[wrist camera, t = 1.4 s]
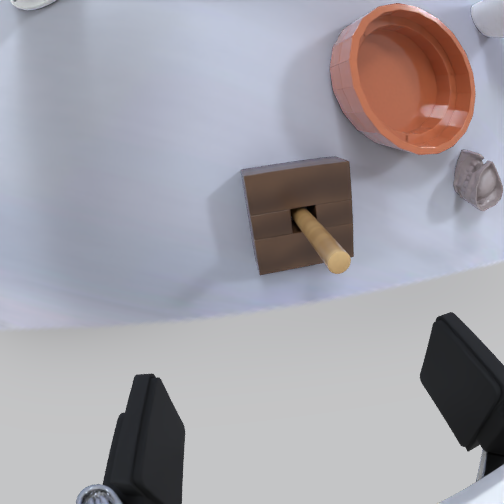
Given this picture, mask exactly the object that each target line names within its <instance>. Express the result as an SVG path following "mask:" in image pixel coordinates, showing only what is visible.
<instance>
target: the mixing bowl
mask: <svg viewBox="0 0 504 504" xmlns="http://www.w3.org/2000/svg"><path fill="white" fill-rule="evenodd" d="M330 74H331V80H332V87H333V92H334V94H335V96H336V98H337V100H338V103H339V105H340V107H341V109H342V112H343V113H344V114H345V116H346V117H347V118H348V119H349V120H350V122H351V123H352V124H353V125H354V126H355V128H356V129H357V130H358V131H359V132H361V133H362V134H363V135H365V136H366V137H368V138H369V139H371V140H372V141H374V142H375V143H378V144H381V145H384V146H388V147H391V148H394V149H398V150H402V151H406V152H410V153H414V154H418V155H425V154H439V153H441V152H443V151H445V150H447V149H449V148H451V147H453V146H454V145H455V144H456V143H457V141H458V140H459V139H460V138H461V137H462V136H463V135H464V134H465V132H466V130H467V128H468V126H469V123H470V121H471V119H472V116H473V111H474V103H475V85H474V77H473V72H472V69H471V66H470V63H469V61H468V58H467V55H466V53H465V51H464V49H463V48H462V46H461V45H460V43H459V42H458V40H457V38H456V37H455V35H454V34H453V33H452V32H451V31H450V30H449V29H448V28H447V27H446V26H445V25H444V24H443V23H442V22H441V21H440V20H439V19H438V18H436V17H435V16H433V15H431V14H430V13H428V12H426V11H424V10H422V9H420V8H418V7H415V6H410V5H405V4H400V3H396V4H390V5H384V6H379V7H377V8H375V9H373V10H372V11H370V12H368V13H367V14H365V15H363V16H362V17H360V18H358V19H357V20H355V21H354V22H353V23H351V24H350V25H349V26H347V27H346V28H344V29H343V30H342V32H341V34H340V35H339V37H338V39H337V41H336V42H335V44H334V46H333V49H332V56H331V62H330Z"/></svg>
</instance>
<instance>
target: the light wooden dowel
mask: <svg viewBox="0 0 504 504" xmlns="http://www.w3.org/2000/svg"><path fill="white" fill-rule="evenodd" d="M290 212H291V217H292V218H293V220H294V221H295V222H296V224H297V225H298V227H299V228H300V229H301V231H302V232H303V234H304V235H305V236H306V238H307V239H308V241H309V242H310V243H311V245H312V246H313V248H314V249H315V250H316V252H317V253H318V255H319V256H320V257H321V259H322V260H323V262H324V263H325V265H326V266H327V267H328V269H329V270H330V271H331V272H332V273H335V274H340V273H343V272H344V271H346V270H347V269H348V267H349V265H350V262H351V259H350V256H349V254H348V253H347V252H346V251H345V250H344V249H343V248H342V247H341V245H340V244H339V243H338V242H337V241H336V240H335V239H334V238H333V237H332V236H331V234H330V233H329V232H328V231H327V230H326V229H325V228H324V227H323V226H322V225H321V224H320V223H319V222H318V220H317V219H316V218H315V217H314V216H313V215H312V214H311V213H310V212H309V211H308V210H307V209H306V208H305V207H300V208H294V209H290Z"/></svg>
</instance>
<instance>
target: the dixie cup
mask: <svg viewBox="0 0 504 504" xmlns="http://www.w3.org/2000/svg"><path fill="white" fill-rule="evenodd" d="M471 16H472V19H473V21H474V24H475V25H476V27H477V28H478V30H479V31H480V32H481V33H482V34H483V35H485V36H487V37H500V38H504V0H483V1H481V2H478V3H476V4H474V5H473V6H472V7H471Z"/></svg>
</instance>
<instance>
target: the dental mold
mask: <svg viewBox="0 0 504 504" xmlns="http://www.w3.org/2000/svg"><path fill="white" fill-rule="evenodd" d="M483 159H484V157H483V156H482V155H481V154H478V153H475V152H472V151H468V150H461V154H460V156H459V158H458V161H457V165H456V168H455V177H454V182H453V185H454V189H455V191H456V192H457V193H458V194H459V195H460V197H461V198H464V200H465V201H467V202H468V203H470V204H472V205H473V206H474V207H476V208H477V209H479V210H481V211H485V210H487V209H489V208H490V207H493V206H495V205H496V204H497V203H498V201H499V200H500V199H501V197H502V193H503V186H502V183H501V180H500V178H499V175H498V172H497V170H496V168H495V166H494V163H493V162H492V161H487V162H486V163H485V164H483V162H482V160H483Z"/></svg>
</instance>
